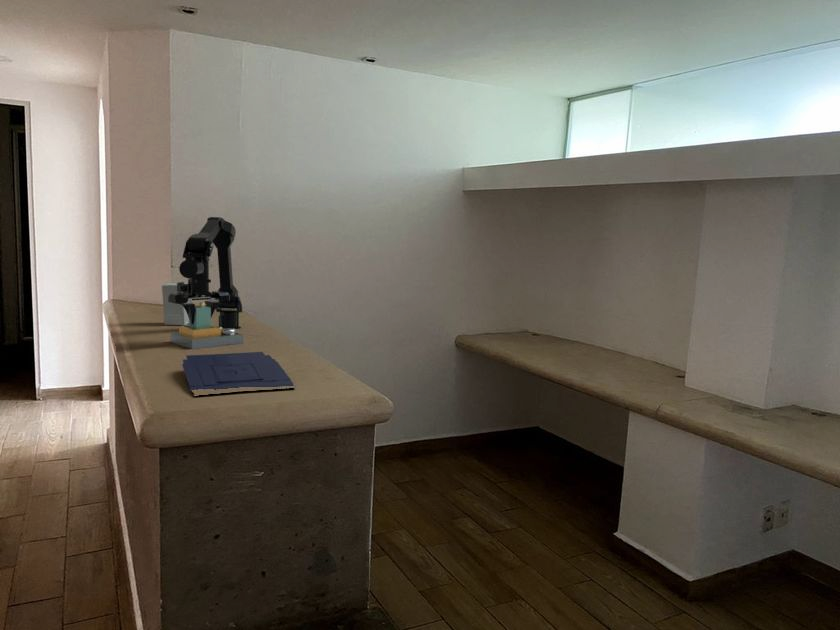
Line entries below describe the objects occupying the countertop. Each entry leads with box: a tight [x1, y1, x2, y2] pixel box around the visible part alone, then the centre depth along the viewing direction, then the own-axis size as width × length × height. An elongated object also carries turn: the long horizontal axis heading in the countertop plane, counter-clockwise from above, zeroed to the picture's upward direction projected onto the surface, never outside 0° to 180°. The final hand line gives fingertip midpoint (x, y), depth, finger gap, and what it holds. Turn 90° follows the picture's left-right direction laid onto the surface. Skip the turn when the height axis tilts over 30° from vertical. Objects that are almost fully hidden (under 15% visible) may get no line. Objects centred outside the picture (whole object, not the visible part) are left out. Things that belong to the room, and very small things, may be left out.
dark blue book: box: [182, 351, 295, 391], centre depth 167 cm, size 24×30×4 cm
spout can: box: [188, 302, 212, 330], centre depth 213 cm, size 5×5×10 cm
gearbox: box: [170, 324, 244, 350], centre depth 215 cm, size 18×15×6 cm
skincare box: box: [161, 282, 189, 326], centre depth 249 cm, size 8×7×16 cm
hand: (200, 323), depth 213 cm, fingers closed on spout can, 5 cm apart
